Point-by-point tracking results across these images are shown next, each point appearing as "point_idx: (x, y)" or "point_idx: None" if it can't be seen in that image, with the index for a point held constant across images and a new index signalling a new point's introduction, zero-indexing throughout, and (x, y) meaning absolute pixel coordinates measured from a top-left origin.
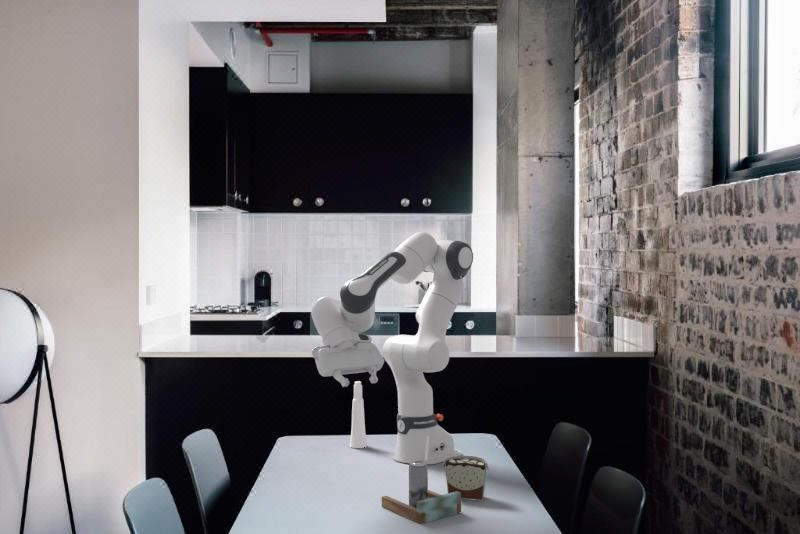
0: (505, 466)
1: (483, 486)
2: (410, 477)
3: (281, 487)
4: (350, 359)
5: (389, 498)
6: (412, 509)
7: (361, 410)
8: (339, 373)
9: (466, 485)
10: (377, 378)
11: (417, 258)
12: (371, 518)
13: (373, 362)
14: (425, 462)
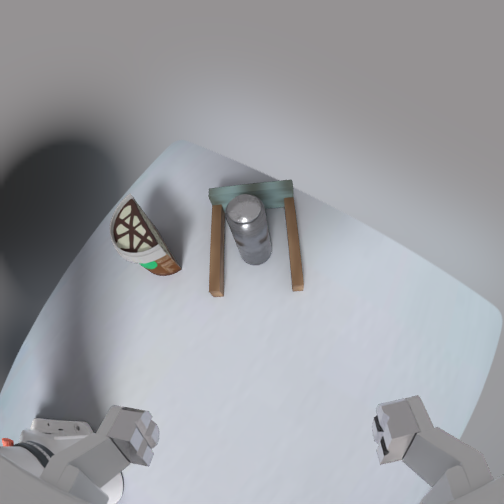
0: (34, 332)
1: (148, 218)
2: (266, 221)
3: (400, 479)
4: None
5: (296, 269)
6: (293, 207)
7: None
8: (463, 458)
9: (159, 237)
10: (112, 406)
11: None
12: (345, 251)
13: (27, 486)
14: (229, 203)
